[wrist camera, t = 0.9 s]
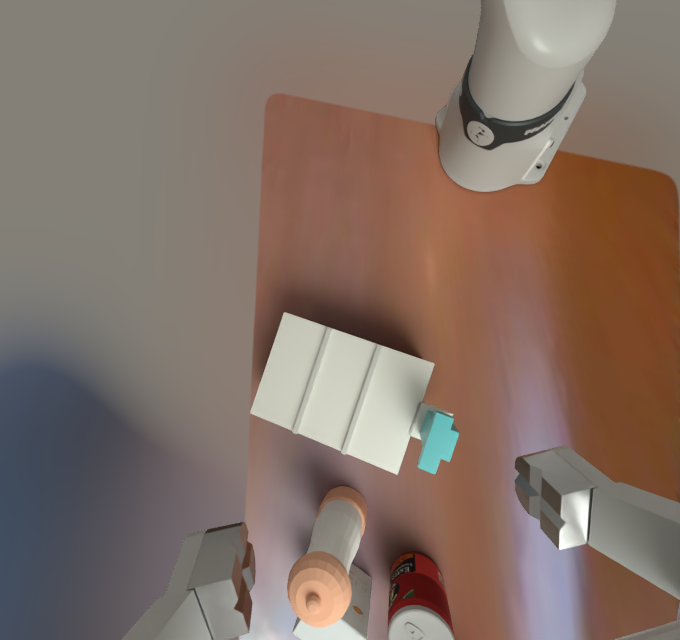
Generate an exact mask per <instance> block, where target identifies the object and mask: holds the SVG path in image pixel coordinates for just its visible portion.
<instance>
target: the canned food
mask: <svg viewBox="0 0 680 640" xmlns="http://www.w3.org/2000/svg"><path fill="white" fill-rule="evenodd" d="M388 640H455V639H454V632H453V627H452V621H451V616H450V611H449V606H448V600H447V595H446V590H445V585H444V580H443V577H442V574H441V572H440V570H439V569H438V567H437V566H436V565H435V563H434V562H433V561H432V560H431V559H430V558H428V557H427V556H425V555H423V554H420V553H416V552H410V553H405V554H403V555H401V556H400V557H398V558H397V560H396V561H395V563H394V564H393V566H392V569H391V572H390V590H389V611H388Z"/></svg>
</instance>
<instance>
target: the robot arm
mask: <svg viewBox="0 0 680 640" xmlns="http://www.w3.org/2000/svg"><path fill="white" fill-rule="evenodd" d="M615 8H616V0H481V16H480V22H479V29H478V34H477V40H476V45H475V50H474V54H473V55H472V57H471V59H470V60H469V63H468V65H467V68H466V70H465V73H464V75H463V78H462V80H461V82H460V83H459V84H458V85H455V86H454V87H453V89H452V91H451V95H450V97H449V101H448V104H447V105H446V106H445V107H443V108H442V109H441V110H440V111H439V112H438V113H437V116H436V119H435V124H436V127H437V130H438V133H439V135H440V142H439V156H440V161H441V164H442V166H443V169H444V170H445V172H446V173H447V175H448V176H449V177H450V178H451V179H452V180H453V181H454V182H456V183H457V184H459V185H460V186H462V187H464V188H467V189H470V190H473V191H480V192H489V191H496V190H500V189H504V188H506V187H509V186H512V185H515V184H534V183H537V182H539V181H540V180H541V179H542V177H543V175H544V174H545V172H546V170H547V168H548V166H549V164H550V162H551V160H552V158H553V157H554V155H555V153H556V151H557V149H558V147H559V145H560V143H561V141H562V139H563V138H564V136H565V134H566V132H567V130H568V128H569V126H570V124H571V123H572V121H573V119H574V117H575V115H576V113H577V111H578V109H579V107H580V106H581V104H582V102H583V100H584V98H585V96H586V89H585V87H584V85H583V83H582V81H581V79H582V77H583V75H584V70H583V69H584V67H585V66H586V64H587V63H588V61H589V60H590V58H591V57H592V55H593V54H594V52H595V51H596V49H597V48H598V47H599V45H600V43H601V42H602V41H603V39H604V38H605V36H606V34H607V32H608V30H609V28H610V25H611V23H612V20H613V16H614V13H615ZM536 166H539V167H540V169H537V168H536ZM515 469H516V470H517V471H518V472H519V475H518V476H517V478H516V479H515V491H516V494H517V496H518V499H519V501H520V503H521V504H522V506H523V508H524V509H525V510H526V511H527V513H528V514H529V515H531V516H533V517H535V518H537V519H539V520H540V527H541V529H542V530H543V532H544V533H545V534H546V535H547V536H548V538H549V539H550V540H551V541H552V542H553V543H554V545H555V546H556V547H557V548H558V549H559V550H560V549H565V548H569V547H573V546H578V545H582V544H586V543H589V545H590V546H591V547H593V548H595V549H596V550H598V551H600V552H601V553H603V554H605V555H606V556H608V557H610V558H611V559H613V560H615V561H616V562H618V563H620V564H621V565H623V566H625V567H626V568H628V569H630V570H631V571H633V572H634V573H636V574H638V575H639V576H641V577H643V578H644V579H646V580H648V581H649V582H651V583H653V584H654V585H656V586H658V587H659V588H661V589H663V590H664V591H666V592H668V593H669V594H671V595H673V596H674V597H676V598H678V599H679V600H680V503H678V502H675V501H672V500H669V499H666V498H664V497H661V496H658V495H655V494H652V493H650V492H647V491H644V490H641V489H638V488H636V487H633V486H630V485H627V484H624V483H622V482H619V483H615V482H613V481H612V480H611V479H609V478H608V477H607V476H605V475H604V474H603V473H602V472H600V471H599V470H598V469H596V468H595V467H594V466H592V465H591V464H590V463H589V462H587V461H586V460H585V459H583V458H582V457H581V456H579V455H578V454H577V453H575V452H574V451H573V450H572V449H570V448H569V447H566V446H560V447H556V448H552V449H548V450H544V451H540V452H536V453H532V454H528V455H524V456H520V457H517V458H516V460H515ZM247 538H248V529H247V526H246V523H244V522H240V523H235V524H231V525H226V526H221V527H217V528H211V529H207V530H204V531H200V532H194V533H189V534H188V535H187V537H186V538H185V539H184V542H183V545H182V548H181V550H180V553H179V556H178V559H177V562H176V564H175V567H174V570H173V573H172V576H171V578H170V581H169V584H168V587H167V590H166V593H165V595H164V597H161V598H158V599H157V600H156V601H155V602H154V603H153V604H152V606H151V607H150V608H149V609H148V610H147V611H146V613H145V614H144V615H143V616H142V617H141V618H140V619H139V620H138V622H137V623H136V624H135V625H134V626H133V627H132V628H131V629H130V631H129V632H128V633H127V634H126V635H125V636H124V637H123V639H122V640H227V639H230V638H234V637H237V636H240V635H244V634H247V633H249V628H250V619H251V611H252V600H251V597H250V593H249V592H250V591H251V589H252V588H253V586H254V584H255V555H254V550H253V546H252V544H251V543H249V542H248V541H247ZM615 640H680V605H679V610H678V615H677V621H674V622H671V623H667V624H664V625H661V626H658V627H654V628H651V629H648V630H644V631H641V632H638V633H634V634H631V635H628V636H624V637H621V638H618V639H615Z"/></svg>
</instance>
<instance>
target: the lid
mask: <svg viewBox="0 0 680 640" xmlns="http://www.w3.org/2000/svg"><path fill="white" fill-rule="evenodd" d="M433 367H434V363H432V362H429V361H426V360H423V359H420V358H417V357H414V356H411V355H408V354H406V353H403V352H400V351H397V350H394V349H391V348H388V347H385V346H382V345H379V344H376V343H374V342H371V341H368V340H365V339H362V338H359V337H356V336H353V335H350V334H347V333H344V332H341V331H339V330H336V329H333V328H330V327H327V326H324V325H321V324H318V323H315V322H312V321H309V320H307V319H304V318H301V317H298V316H295V315H292V314H289V313H286V312H284V314H283V317H282V320H281V323H280V326H279V329H278V332H277V335H276V338H275V341H274V344H273V347H272V350H271V353H270V356H269V358H268V361H267V364H266V367H265V370H264V373H263V376H262V379H261V382H260V385H259V388H258V391H257V394H256V397H255V400H254V403H253V406H252V409H251V412H250V413H251V414H253V415H256V416H258V417H261V418H263V419H265V420H268V421H270V422H272V423H275V424H277V425H280V426H282V427H284V428H287V429H289V430H292V431H293V432H292V433H294V434H297V433H299V434H301V435H304V436H306V437H308V438H311V439H313V440H315V441H318V442H320V443H323V444H325V445H327V446H330V447H332V448H335V449H337V450H339V451H342V452H341V453H342V454H344V455H346V453H347V454H349V455H351V456H354V457H356V458H358V459H361V460H363V461H366V462H368V463H370V464H373V465H375V466H378V467H380V468H382V469H385V470H387V471H389V472H392V473H394V474H398V471H399V468H400V465H401V463H402V460H403V457H404V454H405V451H406V448H407V445H408V442H409V439H410V436H412V437H415V438H417V439H420V440H421V443H422V447H423V448H422V451H421V454H420V457H419V460H418V463H417V464H418V468H420V469H422V470H425V471H427V472H430V473H432V474H434V475H435V474H436V471H437V468H438V465H439V462H440V459H443V460H446V461H448V462H450V460H451V457H452V454H453V451H454V448H455V445H456V442H457V439H458V436H459V432H458V430H457V429H456V427H455V425H454V424H453V421H454V418H453V417H452V416H453V414H452V413H451V412H449V411H446V410H443V409H441V408H438V407H435V406H432V405H430V404H427V403H424V402H422V400H423V397H424V394H425V391H426V388H427V385H428V382H429V379H430V376H431V373H432V370H433Z"/></svg>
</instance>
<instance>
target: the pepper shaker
mask: <svg viewBox="0 0 680 640" xmlns="http://www.w3.org/2000/svg"><path fill="white" fill-rule="evenodd" d="M367 514H368V511H367V505H366V503H365V500H364V498H363V497H362V496H361V495H360V493H359V492H357V491H356V490H354V489H353V488H350V487H346V486H338V487H336V488H333V489H331V490H330V491H329V492H328V493H327V494H326V496H325V498H324V500H323V502H322V504H321V506H320V508H319V510H318V514H317V520H316V522H315V524H314V526H313V532H312V537H311V542H310V545H309V548H308V550H307V552H306V554H305V555H303V556H302V557H301V558H300V559H299V560H298V561H297V562H295V563H294V565H293V567H292V569H291V571H290V573H289V579H288V585H287V590H288V598H289V601H290V603H291V606H292V608H293V611H294V612H295V613H296V615H297V616H298V617H299V619H301V620H302V621H303V622H305V623H306V624H308V625H310V626H313V627H326V626H329V625H332V624H335V623H336V622H337V621H338V620H340V619H341V618H342V617H343V615H344V614H345V612H346V610H347V608H348V606H349V605H350V601H351V595H352V590H351V582H350V578H349V575H348V574H349V570H350V566H351V563H352V561H353V559H354V557H355V555H356V553H357V550H358V548H359V544H360V539H361V537H362V535H363V534H364V530H365V525H366V520H367Z"/></svg>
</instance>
